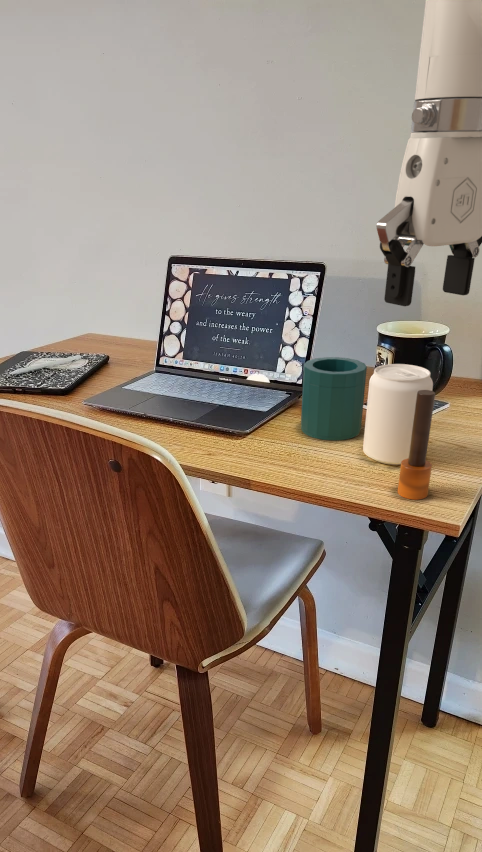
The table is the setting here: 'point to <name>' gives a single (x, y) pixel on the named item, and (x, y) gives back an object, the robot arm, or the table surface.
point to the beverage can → (392, 411)
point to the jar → (333, 398)
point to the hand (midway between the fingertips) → (427, 298)
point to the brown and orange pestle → (418, 451)
